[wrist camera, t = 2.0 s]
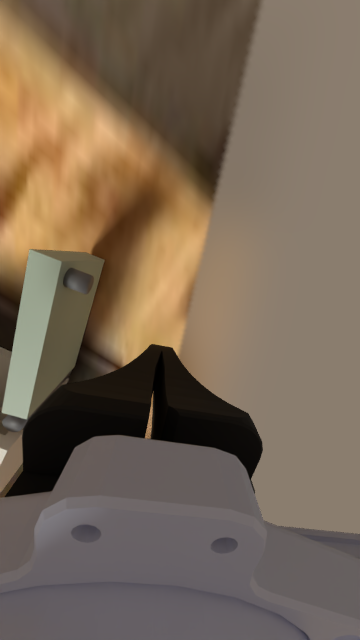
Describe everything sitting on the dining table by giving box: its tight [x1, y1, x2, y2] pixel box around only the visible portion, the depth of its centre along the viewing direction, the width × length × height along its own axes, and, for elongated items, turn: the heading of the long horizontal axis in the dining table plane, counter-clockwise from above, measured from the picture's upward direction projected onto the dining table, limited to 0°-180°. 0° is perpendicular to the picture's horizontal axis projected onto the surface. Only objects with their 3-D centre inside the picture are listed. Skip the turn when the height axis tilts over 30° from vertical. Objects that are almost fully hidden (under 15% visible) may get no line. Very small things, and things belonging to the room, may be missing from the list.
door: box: [2, 249, 105, 432], centre depth 11 cm, size 2×9×5 cm, turn 158°
